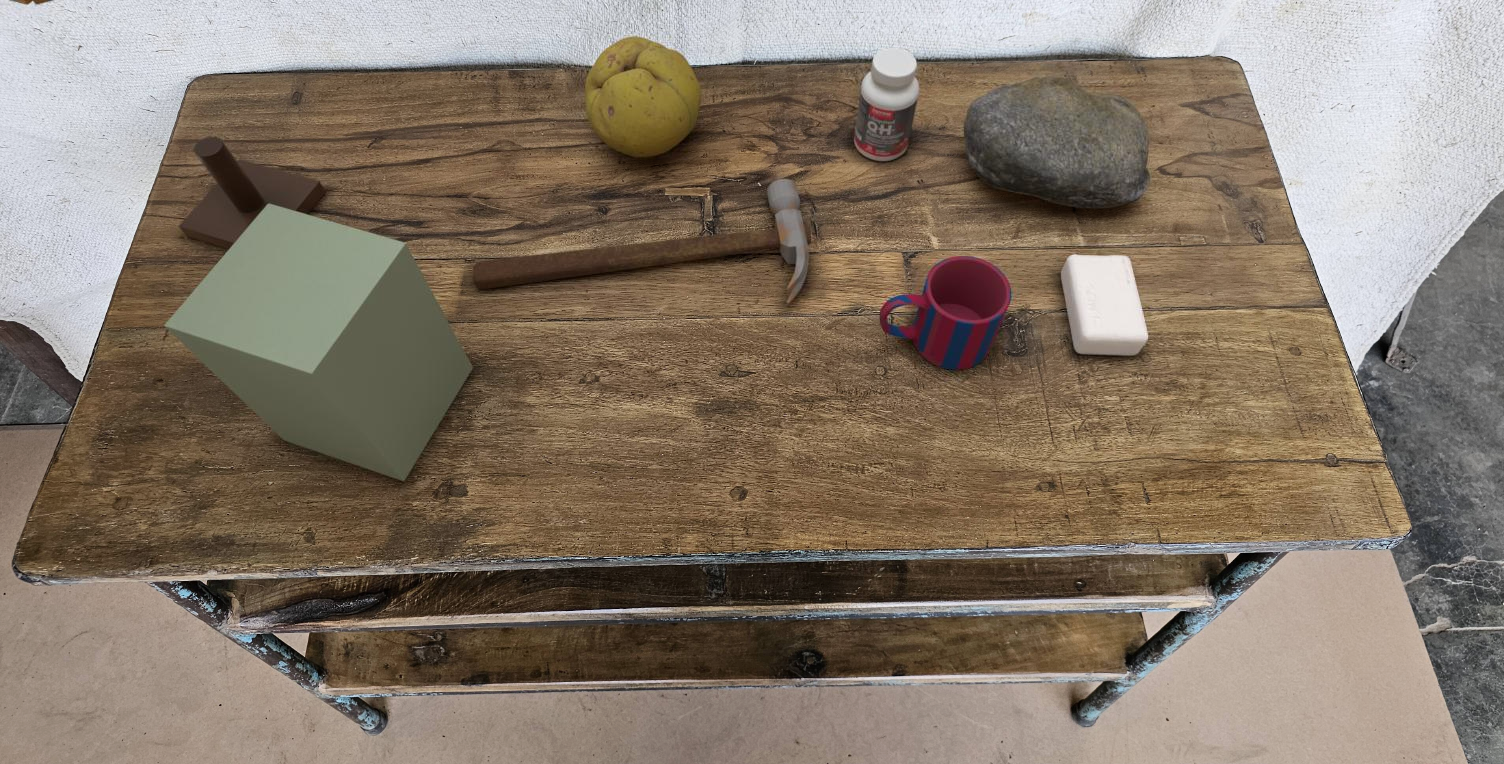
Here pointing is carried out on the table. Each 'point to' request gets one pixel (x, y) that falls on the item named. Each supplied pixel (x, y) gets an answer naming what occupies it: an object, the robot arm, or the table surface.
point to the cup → (954, 312)
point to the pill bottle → (887, 105)
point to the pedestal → (328, 339)
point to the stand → (242, 194)
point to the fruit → (642, 97)
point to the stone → (1058, 143)
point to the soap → (1103, 305)
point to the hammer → (666, 250)
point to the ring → (28, 0)
